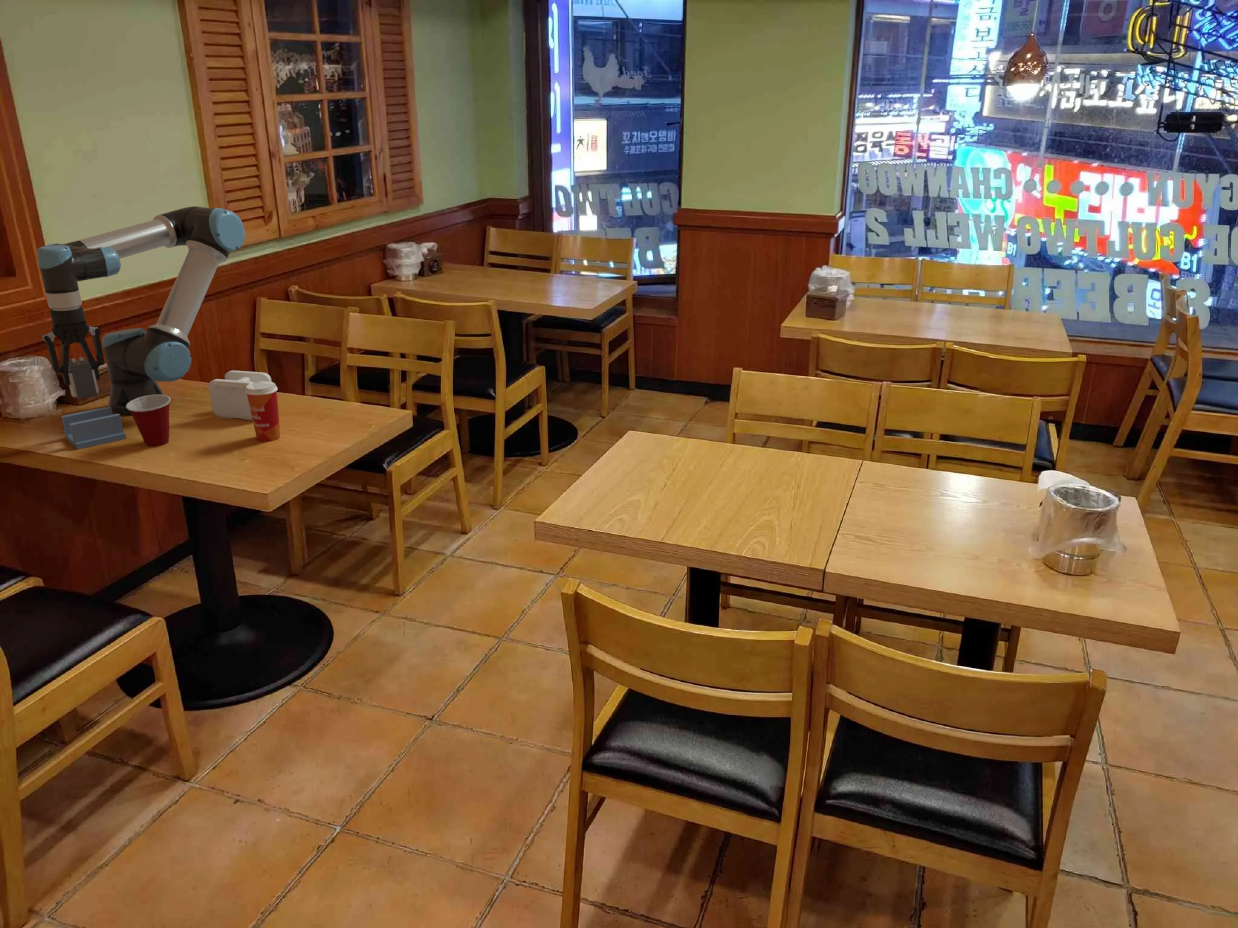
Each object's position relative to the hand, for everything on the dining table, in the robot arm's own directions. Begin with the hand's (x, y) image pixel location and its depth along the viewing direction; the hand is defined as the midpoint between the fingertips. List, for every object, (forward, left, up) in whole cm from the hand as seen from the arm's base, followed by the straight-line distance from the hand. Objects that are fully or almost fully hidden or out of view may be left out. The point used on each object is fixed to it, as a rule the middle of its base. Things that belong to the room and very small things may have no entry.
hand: (85, 393), depth 245 cm
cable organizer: (-38, +8, -13) cm, 41 cm away
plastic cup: (-11, +15, -13) cm, 23 cm away
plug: (0, 0, 0) cm, 0 cm away
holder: (0, 0, -13) cm, 13 cm away
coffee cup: (-35, +31, -13) cm, 49 cm away
